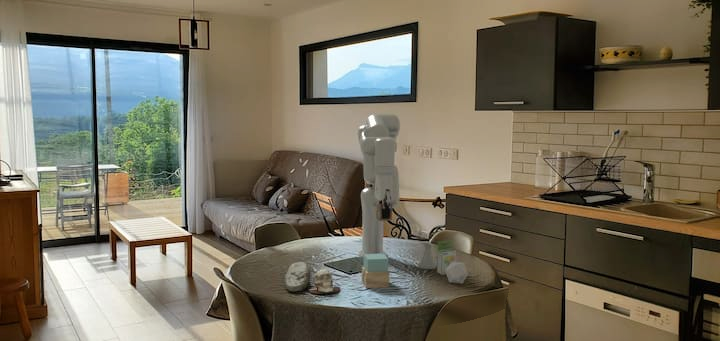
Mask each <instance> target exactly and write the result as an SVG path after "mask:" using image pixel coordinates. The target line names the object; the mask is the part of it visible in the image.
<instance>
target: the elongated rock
mask: <svg viewBox="0 0 720 341" xmlns="http://www.w3.org/2000/svg"><path fill="white" fill-rule="evenodd" d="M309 268H310V266H308V263H307V262H305V261H299V262H298V261H297V262H294V263H292V264H290V265H289V267H288V269H287V271H286V274H285V275H284V279H283V280H284V286H285V288H286V290H288V291H289V292H302V291H303V290H304V289H306V288H307V286H308V285H309V280H310V277H311V274H310V269H309Z"/></svg>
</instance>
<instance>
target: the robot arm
mask: <svg viewBox="0 0 720 341" xmlns="http://www.w3.org/2000/svg"><path fill="white" fill-rule="evenodd" d="M400 129H401V122H400V118H399V117H398V116H397V115H396V114H394V113H393V114H388V113H387V114H386V113H384V114H383V113H382V114H380V113H377V114H371V115H370V116H368V117H367V119H366V123H365V124H363V125H361V126H359V128H358V130H357V139H358V143H359V147H360V151H361V154H362V157H363V158H362V159H363V161H362V162H363V180H364V182H365V183H366V184H367V185H374V186H373V187H372V186H370V187H365V188H364V189H362V190H361V192H360V202H361V210H362V211H361V212H362V214H361V215H362V221H361V222H362V230H361V232H362V234H361V235H362V236H361V237H362V240H361V242H362V244H361V246H362V248H361V250H362V251H359V252H358V256H359V257H360V258H363V259H364V254H382V253H384V254H385V256H386V257H387V253H386V251H384V221H379V220H378V219H376V203H382V205H383V208H382V219H390V204H391V205H392V209H396V208H397V207H398V206H399V205H400V176H399V175H400V174H399V170H398V167H397V165H396V164H395V155H396V154H395V153H396V152H397V149H398V143H397V137H398V136H399V133H400ZM384 203H385V204H384Z"/></svg>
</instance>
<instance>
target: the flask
mask: <svg viewBox="0 0 720 341" xmlns="http://www.w3.org/2000/svg"><path fill="white" fill-rule="evenodd" d="M423 246H424V251H423V255H422V258H421V260H420V262H419V265H418V267H419V268H420V269H422V270H434V269H437V265H436V264H435V261H434V257H433V255H432V244H430V243H425V244H424V245H423Z"/></svg>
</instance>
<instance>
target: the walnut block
mask: <svg viewBox="0 0 720 341" xmlns="http://www.w3.org/2000/svg"><path fill="white" fill-rule="evenodd" d="M384 204H385V203H384ZM382 208H383V205H382V203H376V219H378V220H379V221H383V222H384V221H389V222H391V221H393V208H392V205H391V204H390V219H382Z"/></svg>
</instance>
